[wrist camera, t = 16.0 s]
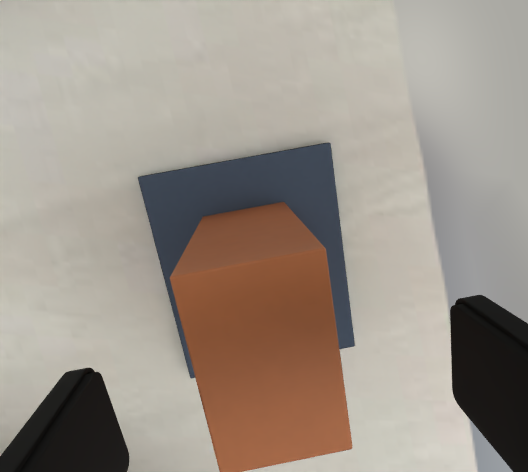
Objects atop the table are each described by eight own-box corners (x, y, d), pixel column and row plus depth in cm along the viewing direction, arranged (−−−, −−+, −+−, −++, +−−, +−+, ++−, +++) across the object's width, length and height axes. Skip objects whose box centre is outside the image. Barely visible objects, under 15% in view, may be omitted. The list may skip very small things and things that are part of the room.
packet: (202, 216, 18) (168, 277, 9) (284, 201, 18) (326, 247, 10) (228, 333, 20) (220, 476, 11) (303, 319, 20) (353, 449, 11)
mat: (327, 142, 18) (330, 142, 18) (351, 341, 21) (355, 346, 21) (140, 176, 18) (137, 177, 17) (191, 372, 21) (190, 378, 20)
